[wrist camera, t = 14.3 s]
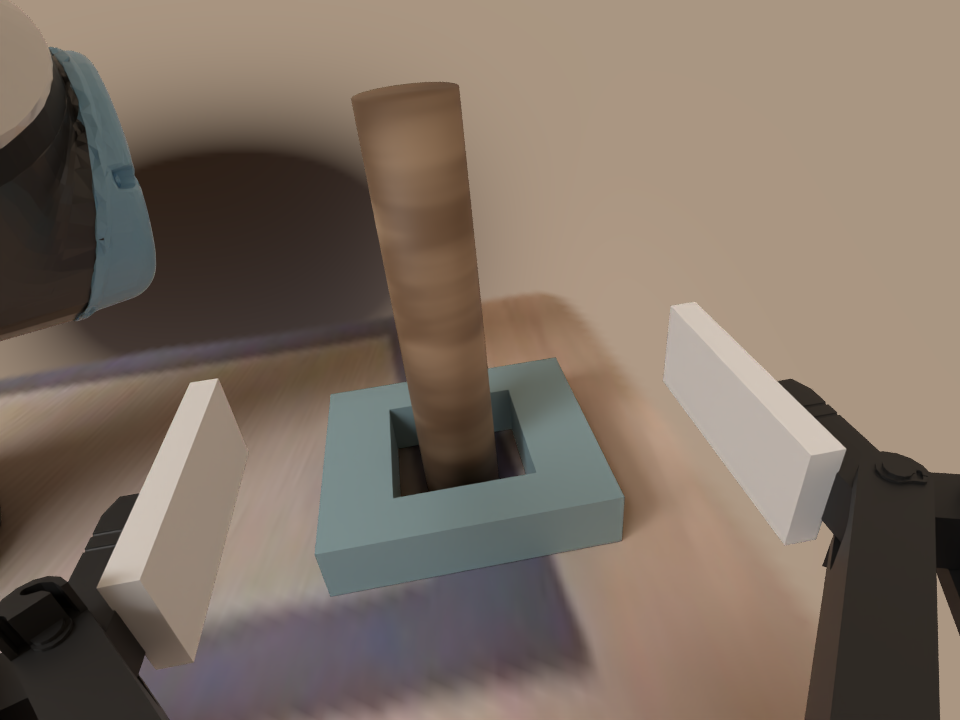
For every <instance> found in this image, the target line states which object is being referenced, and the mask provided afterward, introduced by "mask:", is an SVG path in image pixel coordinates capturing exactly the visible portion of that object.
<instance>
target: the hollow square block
mask: <svg viewBox="0 0 960 720" xmlns="http://www.w3.org/2000/svg"><path fill="white" fill-rule="evenodd" d="M488 376H489V386H490V396H491V406H492V415H493V425H494V432H497V431H503V430H508V429H512V432H513V435H514V438H515V441H516V444H517V448H518V451H519V454H520V457H521V460H522V463H523V467H524V470H525V473H526V475H520V476H515V477H509V478H504V479H498V480H493V481H487V482H481V483H476V484H470V485H465V486H459V487H454V488H448V489H442V490H437V491H431V492H426V493H420V494H415V495H409V496H403V497H401V492H400V475H399V457H398V449H399V448H404V447H410V446H416V445H419V441H418V436H417V431H416V425H415V420H414V415H413V410H412V405H411V400H410V395H409V390H408V385H407V382H403V383H397V384H391V385H385V386H379V387H373V388H366V389H360V390H354V391H348V392H342V393H336V394H331V397H330V407H329V417H328V427H327V437H326V447H325V457H324V467H323V477H322V486H321V496H320V506H319V516H318V526H317V536H316V546H315V557H316V560H317V562H318V565H319V567H320V570H321V573H322V575H323V578H324V581H325V583H326V586H327V588H328V591H329V594H330V596H336V595H341V594H347V593H352V592H357V591H362V590H368V589H373V588H378V587H383V586H388V585H394V584H399V583H404V582H409V581H415V580H420V579H425V578H430V577H436V576H441V575H446V574H451V573H456V572H462V571H467V570H472V569H477V568H483V567H488V566H493V565H498V564H503V563H509V562H514V561H519V560H524V559H530V558H535V557H540V556H545V555H550V554H556V553H561V552H566V551H571V550H577V549H582V548H587V547H592V546H597V545H603V544H608V543H613V542H618V541H622V530H623V514H624V499H625V497H624V495H623V493H622V491H621V489H620V487H619V485H618V483H617V481H616V479H615V477H614V475H613V473H612V471H611V469H610V467H609V465H608V463H607V461H606V459H605V457H604V455H603V452H602V450H601V448H600V446H599V444H598V442H597V440H596V438H595V436H594V434H593V432H592V430H591V428H590V426H589V424H588V422H587V420H586V418H585V416H584V414H583V412H582V410H581V408H580V406H579V404H578V402H577V400H576V398H575V396H574V394H573V392H572V390H571V388H570V386H569V384H568V382H567V380H566V378H565V376H564V374H563V371H562V369H561V367H560V365H559V363H558V361H557V359H556V357H555V358H549V359H543V360H537V361H531V362H525V363H519V364H513V365H507V366H501V367H494V368H488Z"/></svg>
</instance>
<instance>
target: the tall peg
mask: <svg viewBox="0 0 960 720" xmlns="http://www.w3.org/2000/svg"><path fill="white" fill-rule="evenodd" d="M351 101H352V106H353V111H354V116H355V121H356V126H357V131H358V136H359V141H360V146H361V152H362V157H363V161H364V167H365V172H366V177H367V181H368V187H369V192H370V197H371V202H372V207H373V212H374V217H375V223H376V227H377V233H378V237H379V243H380V248H381V253H382V258H383V263H384V268H385V273H386V278H387V283H388V288H389V294H390V299H391V304H392V309H393V314H394V319H395V324H396V329H397V334H398V339H399V344H400V349H401V354H402V360H403V365H404V370H405V375H406V380H407V385H408V390H409V395H410V400H411V405H412V410H413V415H414V420H415V425H416V431H417V436H418V441H419V446H420V451H421V456H422V461H423V466H424V471H425V476H426V481H427V486H428V490H429V492H431V491H437V490H442V489H448V488H454V487H459V486H465V485H470V484H476V483H481V482H487V481H493V480H498V479H499V474H498V465H497V455H496V445H495V435H494V425H493V415H492V406H491V396H490V386H489V376H488V366H487V357H486V347H485V337H484V327H483V317H482V308H481V298H480V288H479V278H478V270H477V269H478V268H477V258H476V249H475V239H474V229H473V219H472V210H471V200H470V191H469V180H468V171H467V161H466V151H465V141H464V132H463V121H462V112H461V101H460V92H459V85H457V84H455V83H449V82H422V83H411V84H403V85H394V86H389V87H383V88H377V89H373V90H370V91H366V92H362V93H359V94H357V95H355V96H353V97H352V98H351Z"/></svg>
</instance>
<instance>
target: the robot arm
mask: <svg viewBox="0 0 960 720" xmlns="http://www.w3.org/2000/svg"><path fill="white" fill-rule="evenodd" d="M155 270H156V254H155V246H154V240H153V234H152V229H151V225H150V220H149V216H148V212H147V208H146V205H145V201H144V197H143V194H142V190H141V187H140V185H139V183H138V181H137V179H136V177H135V176H134V167H133V164H132V160H131V155H130V151H129V147H128V144H127V141H126V138H125V135H124V132H123V130H122V127H121V124H120V121H119V119H118V116H117V113H116V111H115V108H114V106H113V103H112V101H111V98H110V96H109V94H108V92H107V90H106V87H105V85H104V83H103V82H102V79H101V78H100V76H99V74H98V71H97V70H96V68H95V67H94V65H93V64H92V63H91V61H90V60H89V59H88V58H87V57H86V56H84V55H82V54H80V53H78V52H74V51H63V50H61V49H58V48H53V47H48V45H47V43H46V41H45V39H44V38H43V36H42V34H41V32H40V30H39V29H38V28H37V26H36V25H35V24H34V23H33V21H32V20H31V19H30V18H29V17H28V16H27V15H26V14H25V13H24V12H23V11H22V10H21V9H20V8H19V7H18V6H17V5H15V4H14V3H12V2H11V1H9V0H0V341H3V340H6V339H10V338H13V337H17V336H20V335H24V334H27V333H31V332H34V331H38V330H41V329H45V328H48V327H52V326H55V325H59V324H62V323H66V322H70V321H79V320H83V319H86V318H87V317H89V316H90V315H92V314H93V313H94V312H95V311H97V310H100V309H103V308H105V307H108V306H111V305H114V304H116V303H119V302H122V301H125V300H128V299H131V298H134V297H136V296H138V295H140V294H141V293H142V292H144V291H145V290H146V289H147V288H148V286H149V285H150V283H151V281H152V280H153V277H154V274H155ZM663 382H664V383H665V384H666V386H667V387H668V389H669V390H670V391H671V393H672V394H673V395H674V397H675V398H676V399H677V401H678V402H679V403H680V405H681V406H682V407H683V409H684V410H685V412H686V413H687V414H688V416H689V417H690V418H691V420H692V421H693V422H694V424H695V425H696V426H697V428H698V429H699V430H700V432H701V433H702V434H703V436H704V437H705V439H706V440H707V441H708V443H709V444H710V445H711V447H712V448H713V449H714V451H715V452H716V454H717V455H718V456H719V457H720V459H721V460H722V462H723V463H724V464H725V466H726V467H727V468H728V470H729V471H730V472H731V474H732V475H733V477H734V478H735V479H736V481H737V482H738V483H739V485H740V486H741V487H742V489H743V490H744V491H745V493H746V494H747V495H748V497H749V498H750V499H751V501H752V502H753V504H754V505H755V506H756V508H757V509H758V510H759V512H760V513H761V514H762V516H763V517H764V518H765V520H766V521H767V522H768V524H769V525H770V527H771V528H772V529H773V531H774V532H775V533H776V534H777V536H778V537H779V539H780V540H781V541H782V543H783V544H784V545H790V544H795V543H799V542H805V541H809V540H815V539H816V538H817V535H818V532H819V529H820V526H821V523H822V521H823V522H824V523H825V524H826V526H827V527H828V528H829V529H830V530H831V531H832V533H833V534H834V535H833V538H832V540H831V544H830V546H829V549H828V552H827V554H826V558H825V560H824V563H823V565H822V566H824V567H827V569H826V577H825V583H824V590H823V597H822V604H821V610H820V617H819V624H818V631H817V638H816V645H815V651H814V658H813V665H812V672H811V679H810V686H809V692H808V699H807V706H806V713H805V720H940V703H939V662H938V623H937V622H938V621H937V579H936V573H937V575H938V578H939V581H940V583H941V586H942V589H943V591H944V594H945V597H946V600H947V602H948V605H949V607H950V610H951V613H952V616H953V619H954V621H955V624H956V627H957V629H958V632H959V634H960V474H946V473H931V472H928V471H927V470H926V469H925V468H924V466H922V465H921V464H919V463H917V462H916V461H914V460H913V459H911V458H908V457H905V456H903V455H900V454H897V453H890V452H884V451H882V452H880V451H879V450H877V449H876V448H875V447H874V446H873V445H872V444H871V443H870V442H869V441H868V440H867V439H865V438H864V437H863V436H862V435H861V434H860V433H859V432H858V431H857V430H856V429H855V428H853V427H852V426H851V425H850V424H849V423H848V422H847V421H846V420H845V419H844V418H842V417H841V416H840V415H837V412H836V411H835V410H834V409H833V408H831V406H829V405H826V404H825V401H824V400H823V399H822V398H821V397H820V396H819V395H817V394H816V393H815V392H814V391H813V390H812V389H810V388H808V387H807V386H805V385H803V384H801V383H799V382H797V381H795V380H793V379H788V380H782V381H776V380H775V379H774V378H773V377H772V376H771V375H770V374H769V373H768V372H767V371H766V370H765V369H764V368H763V367H762V366H761V365H760V364H759V363H758V362H757V361H756V360H755V359H754V358H753V357H751V355H749V353H748V352H746V351H745V350H744V349H743V348H742V347H741V346H740V345H739V344H738V343H737V342H736V341H735V340H734V339H733V338H732V337H731V336H730V335H729V334H728V333H727V332H726V331H725V330H724V329H723V328H722V327H721V326H720V325H719V324H718V323H717V322H715V320H713V318H712V317H711V316H709V315H708V314H707V313H706V312H705V311H704V310H703V309H702V308H701V307H700V306H699V305H698V304H697V303H696V302H690V303H685V304H678V305H672V306H671V307H670V317H669V327H668V337H667V347H666V358H665V367H664V378H663ZM248 453H249V451H248V449H247V446H246V444H245V442H244V439H243V437H242V434H241V432H240V429H239V427H238V425H237V422H236V420H235V417H234V415H233V412H232V410H231V408H230V405H229V403H228V400H227V398H226V396H225V393H224V391H223V388H222V386H221V383H220V381H219V379H218V378H216V379H210V380H203V381H197V382H191V383H190V384H189V386H188V388H187V390H186V393H185V395H184V397H183V399H182V401H181V404H180V406H179V408H178V410H177V412H176V415H175V417H174V419H173V421H172V423H171V426H170V428H169V430H168V432H167V434H166V437H165V439H164V441H163V443H162V445H161V447H160V450H159V452H158V454H157V456H156V458H155V461H154V463H153V465H152V467H151V469H150V472H149V474H148V476H147V478H146V480H145V483H144V485H143V487H142V489H141V491H140V493H139V494H133V495H127V496H122V497H119V498H118V499H117V500H116V501H115V502H114V503H113V504H112V505H111V506H110V507H109V508H108V509H107V510H106V512H105V513H104V514H103V515H102V516H101V518H100V520H99V522H98V524H97V526H96V528H95V530H94V532H93V537H91V538H90V540H89V542H88V544H87V546H86V548H85V553H83V554H82V556H81V558H80V560H79V562H78V564H77V566H76V567H75V569H74V571H73V573H72V575H71V577H70V579H69V581H68V582H67V581H66V580H64V579H63V578H61V577H54V576H47V577H43V578H39V579H35V580H32V581H30V582H28V583H26V584H24V585H22V586H20V587H18V588H17V589H15V590H14V591H13V592H11V593H10V594H9V595H8V596H6V597H5V598H4V599H2V600H1V602H0V651H1V652H2V653H0V720H170V719H169V718H168V716H167V715H166V713H165V712H164V711H163V709H162V708H161V706H160V705H159V703H158V702H157V700H156V699H155V697H154V696H153V694H152V693H151V691H150V690H149V688H148V687H147V685H146V684H145V682H144V681H143V680H142V678H141V677H140V676H139V671H140V668H141V665H142V662H143V659H144V656H145V655H146V657H147V658H148V660H149V661H150V662H151V664H152V665H153V666H154V668H155V669H156V670H158V669H163V668H168V667H173V666H178V665H183V664H188V663H193V662H194V659H195V655H196V652H197V648H198V644H199V640H200V636H201V633H202V629H203V625H204V621H205V617H206V613H207V610H208V606H209V602H210V598H211V594H212V591H213V587H214V583H215V579H216V575H217V572H218V568H219V564H220V560H221V556H222V552H223V549H224V545H225V541H226V537H227V533H228V530H229V526H230V522H231V518H232V514H233V511H234V507H235V503H236V499H237V495H238V491H239V488H240V484H241V480H242V476H243V472H244V469H245V465H246V461H247V457H248ZM0 524H1V508H0Z"/></svg>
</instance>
